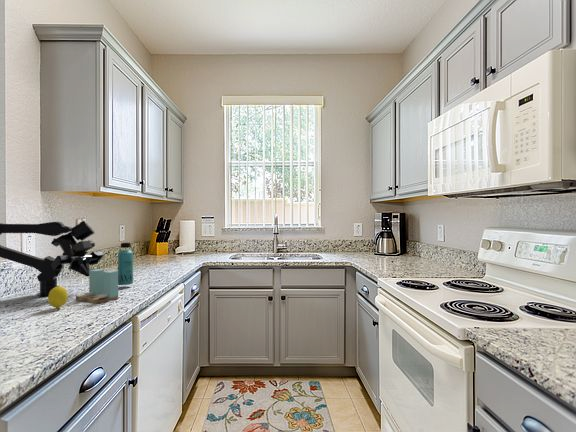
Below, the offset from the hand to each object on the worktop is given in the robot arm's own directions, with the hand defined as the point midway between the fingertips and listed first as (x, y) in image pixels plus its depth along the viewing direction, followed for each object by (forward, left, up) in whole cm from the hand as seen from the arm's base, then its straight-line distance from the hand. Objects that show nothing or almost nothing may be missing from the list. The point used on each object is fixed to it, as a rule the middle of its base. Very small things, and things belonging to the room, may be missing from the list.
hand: (88, 275), depth 132 cm
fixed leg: (+13, +3, -7) cm, 15 cm away
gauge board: (+8, 0, -8) cm, 11 cm away
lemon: (+12, -13, -8) cm, 20 cm away
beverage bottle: (-7, +16, -8) cm, 20 cm away
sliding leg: (+5, 0, -7) cm, 9 cm away
